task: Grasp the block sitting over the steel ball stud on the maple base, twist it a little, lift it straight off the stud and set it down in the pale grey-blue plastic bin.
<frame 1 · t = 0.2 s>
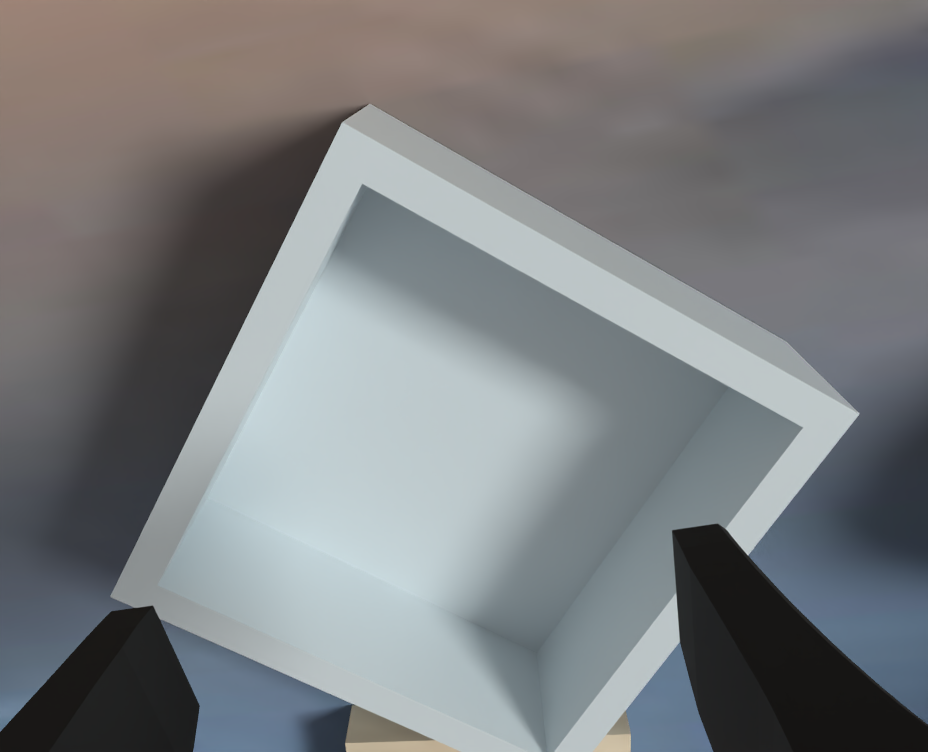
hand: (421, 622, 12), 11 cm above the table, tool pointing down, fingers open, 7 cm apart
bin: (468, 422, 23), on the table
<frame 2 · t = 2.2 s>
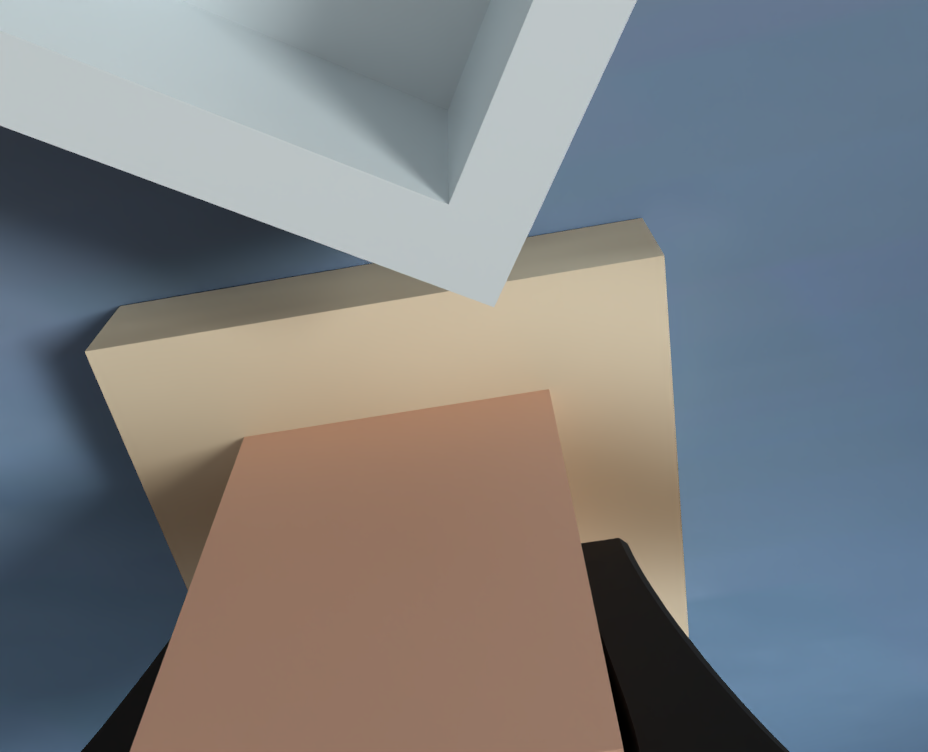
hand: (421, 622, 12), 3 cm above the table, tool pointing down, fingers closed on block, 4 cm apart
block: (424, 533, 14), point 1 cm above the table, touching gripper, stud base
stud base: (426, 477, 15), on the table
when the fingers open (5 cm above the table, at t = 6.6 s): block drops 2 cm, resting on bin.
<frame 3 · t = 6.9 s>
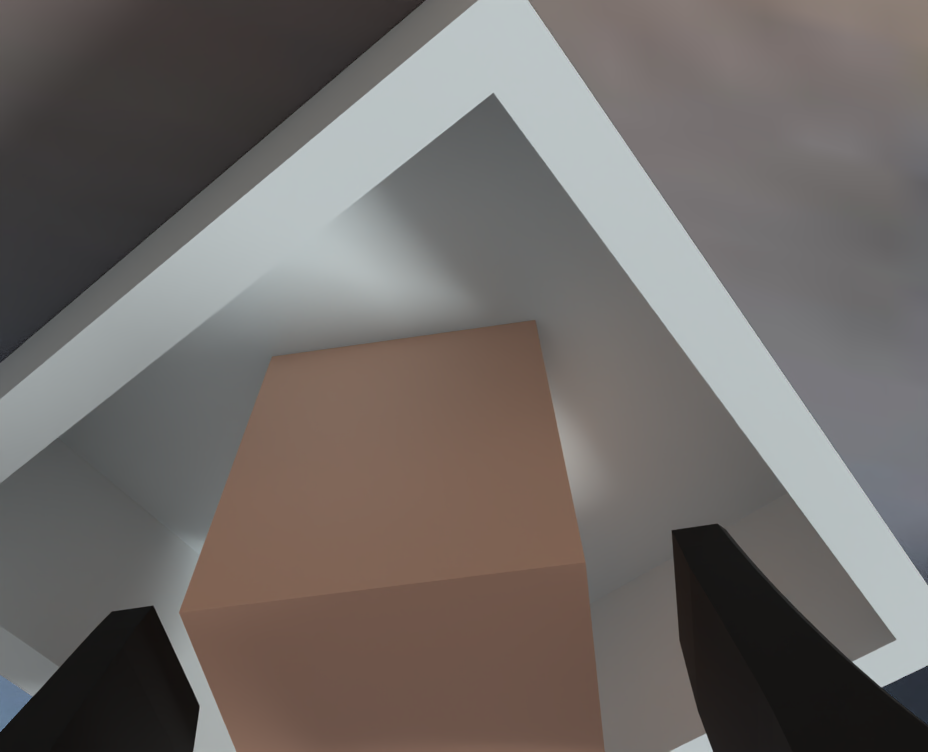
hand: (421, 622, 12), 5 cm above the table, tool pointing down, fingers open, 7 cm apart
bin: (427, 430, 16), on the table
block: (424, 448, 16), point 1 cm above the table, touching bin
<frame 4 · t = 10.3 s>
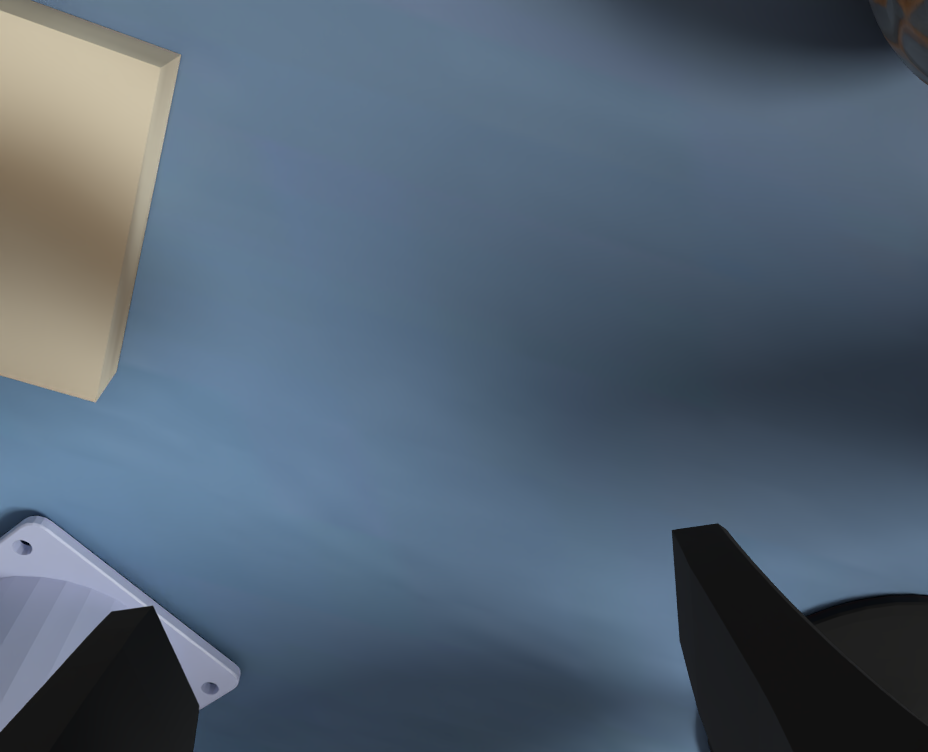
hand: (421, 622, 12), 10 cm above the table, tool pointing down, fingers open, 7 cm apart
wine glass: (862, 707, 29), on the table
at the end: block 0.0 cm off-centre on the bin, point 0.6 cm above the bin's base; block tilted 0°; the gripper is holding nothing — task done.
